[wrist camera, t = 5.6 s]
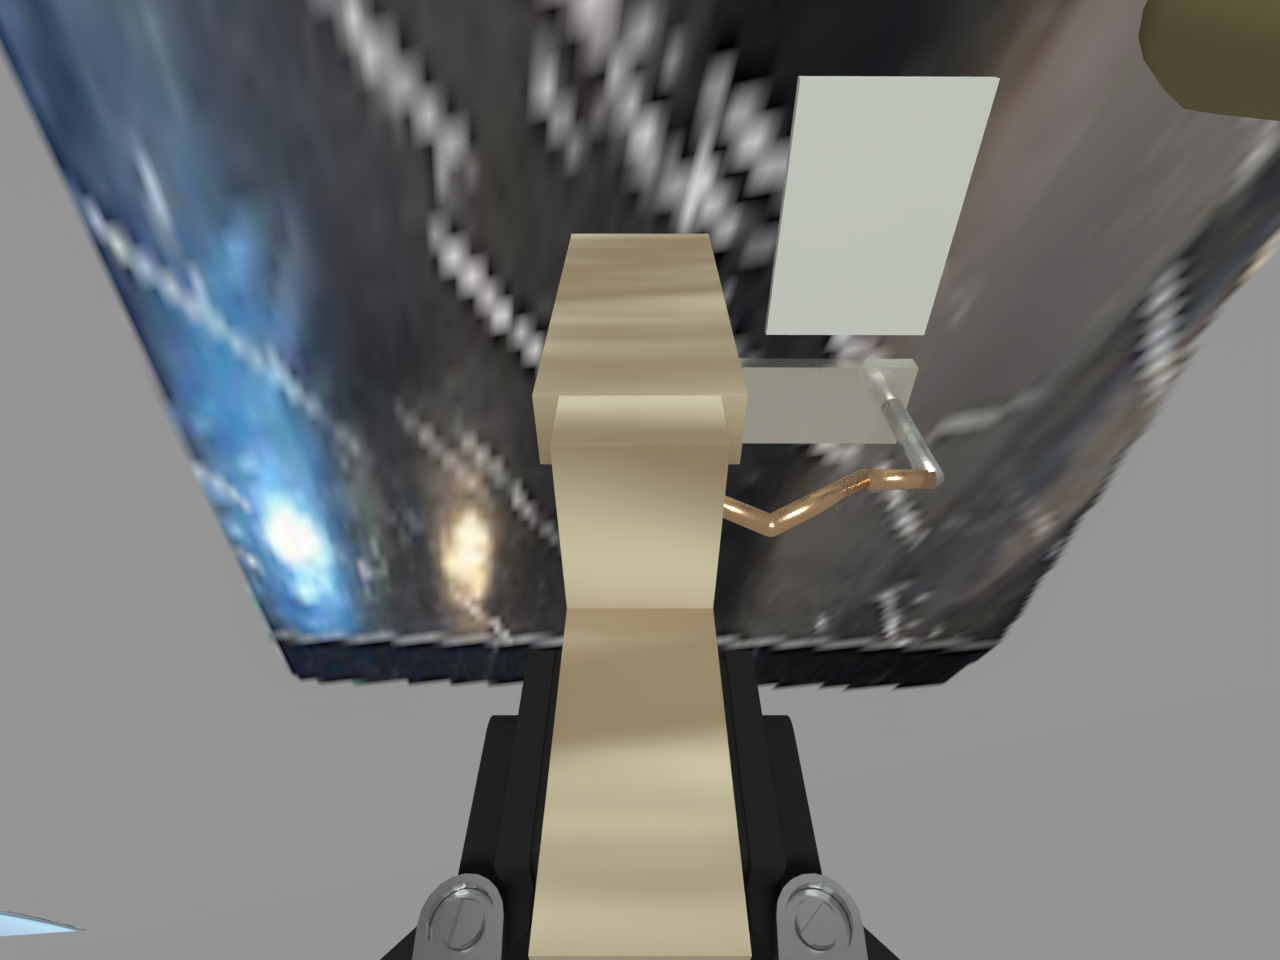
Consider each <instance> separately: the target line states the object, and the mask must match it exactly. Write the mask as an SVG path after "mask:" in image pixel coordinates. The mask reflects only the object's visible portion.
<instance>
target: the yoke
mask: <svg viewBox="0 0 1280 960" xmlns="http://www.w3.org/2000/svg"><path fill="white" fill-rule="evenodd" d="M532 398H533V407H534V415H535V424H536V432H537V440H538V449H539V457H540V464H552V471H553V480H554V490H555V499H556V509H557V518H558V528H559V537H560V547H561V556H562V566H563V575H564V585H565V594H566V604H567V613H566V622H565V631H564V640H563V649H562V657H561V666H560V675H559V684H558V693H557V702H556V711H555V720H554V729H553V738H552V747H551V756H550V765H549V774H548V783H547V792H546V801H545V810H544V819H543V828H542V837H541V846H540V855H539V864H538V873H537V882H536V891H535V900H534V909H533V918H532V927H531V936H530V945H529V953H528V957H529V960H751V957H752V953H751V944H750V935H749V926H748V917H747V908H746V899H745V890H744V881H743V873H742V864H741V855H740V846H739V837H738V828H737V819H736V810H735V801H734V792H733V783H732V774H731V765H730V756H729V747H728V738H727V729H726V720H725V711H724V702H723V693H722V684H721V675H720V666H719V657H718V648H717V639H716V630H715V621H714V612H713V605H714V595H715V586H716V576H717V567H718V557H719V548H720V538H721V529H722V519H723V510H724V500H725V491H726V481H727V472H728V464H740V458H741V450H742V442H743V433H744V425H745V417H746V408H747V400H748V394H747V389H746V385H745V381H744V377H743V373H742V369H741V365H740V361H739V357H738V353H737V348H736V344H735V340H734V336H733V332H732V328H731V324H730V320H729V316H728V311H727V307H726V303H725V299H724V295H723V291H722V287H721V283H720V279H719V274H718V270H717V266H716V262H715V258H714V254H713V250H712V246H711V242H710V237H709V234H571V238H570V242H569V246H568V251H567V255H566V259H565V263H564V267H563V271H562V275H561V279H560V283H559V287H558V292H557V296H556V300H555V304H554V308H553V312H552V316H551V320H550V324H549V329H548V333H547V337H546V341H545V345H544V349H543V353H542V357H541V361H540V366H539V370H538V374H537V378H536V382H535V386H534V390H533V394H532Z"/></svg>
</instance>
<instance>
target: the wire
mask: <svg viewBox="0 0 1280 960" xmlns="http://www.w3.org/2000/svg"><path fill="white" fill-rule="evenodd" d="M739 361H740V365H741V369H742V373H743V377H744V381H745V385H746V389H747V394H748V400H747V408H746V417H745V425H744V433H743V442H742V443H828V444H896V442H898V443H899V445H900V447H901V449H902V451H903V453H904V455H905V457H906V459H907V461H908V462H909V464H910V466H911V468H912V469H860V470H858V471H856V472H854V473H852V474H850V475H847V476H845V477H843V478H841V479H839V480H837V481H835V482H833V483H831V484H829V485H827V486H825V487H823V488H821V489H819V490H817V491H815V492H813V493H811V494H809V495H807V496H805V497H803V498H801V499H799V500H797V501H795V502H792V503H790V504H788V505H786V506H784V507H782V508H780V509H778V510H776V511H774V512H772V513H768V512H765V511H763V510H760V509H758V508H755V507H753V506H750V505H748V504H745V503H743V502H740V501H738V500H736V499H733V498H731V497H728V496H726V495H725V500H724V510H723V518H724V519H727V520H729V521H732V522H734V523H736V524H739V525H741V526H743V527H746V528H748V529H751V530H753V531H755V532H758V533H760V534H762V535H765V536H767V537H774V536H777V535H779V534H781V533H783V532H785V531H787V530H788V529H790V528H792V527H794V526H796V525H798V524H800V523H802V522H804V521H806V520H808V519H810V518H812V517H814V516H816V515H818V514H820V513H822V512H824V511H825V510H827V509H829V508H831V507H833V506H835V505H837V504H839V503H841V502H843V501H845V500H847V499H849V498H851V497H853V496H855V495H857V494H859V493H861V492H863V491H864V490H933V489H934V488H935V487H937V486H939V485H940V484H941V483H942V482H943V481H944V478H945V476H944V473H943V472H942V470H941V468H940V467H939V465H938V463H937V461H936V460H935V458H934V456H933V455H932V453H931V451H930V449H929V448H928V446H927V444H926V443H925V441H924V439H923V437H922V436H921V434H920V432H919V431H918V429H917V427H916V425H915V424H914V422H913V420H912V419H911V417H910V415H909V413H908V412H907V410H906V408H907V405H908V402H909V398H910V395H911V392H912V388H913V385H914V382H915V379H916V375H917V372H918V369H919V368H918V366H917V365H916V363H915V362H914V360H913V359H759V358H739Z"/></svg>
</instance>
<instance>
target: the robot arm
mask: <svg viewBox="0 0 1280 960" xmlns="http://www.w3.org/2000/svg"><path fill="white" fill-rule="evenodd" d="M560 666H561V658H557V652H556V651H529V653H528V656H527V662H526V668H525V674H524V680H523V687H522V693H521V699H520V705H519V712H518V715H492V716H491V718H490V720H489V723H488V726H487V730H486V735H485V740H484V745H483V750H482V755H481V761H480V766H479V771H478V776H477V781H476V786H475V791H474V796H473V801H472V806H471V811H470V816H469V821H468V826H467V831H466V837H465V842H464V847H463V852H462V857H461V862H460V867H459V872H458V875H457V876H454V877H451V878H450V879H448V880H446V881H445V882H443V883H442V884H440V885H439V886H438V887H437V888H436V889H435V890H434V891H433V892H432V893H431V894H430V895H429V897H428V899H427V901H426V902H425V904H424V906H423V907H422V909H421V913H420V916H419V919H418V923H417V926H416V927H415V928H414V929H413V930H412V931H411V932H410V933H409V934H408V935H406V936H405V937H404V938H403V939H402V940H401V941H400V942H399V943H398V944H397V945H396V946H395V947H393V948H392V949H391V950H390V951H389V952H388V953H387V954H386V955H385V956H383V957H382V958H381V959H380V960H529V957H528V953H529V945H530V936H531V927H532V918H533V909H534V900H535V891H536V882H537V873H538V864H539V855H540V846H541V837H542V828H543V819H544V810H545V801H546V792H547V783H548V774H549V765H550V756H551V747H552V738H553V729H554V720H555V711H556V702H557V693H558V684H559V675H560ZM719 666H720V675H721V684H722V693H723V702H724V711H725V720H726V729H727V738H728V747H729V756H730V765H731V774H732V783H733V792H734V801H735V810H736V819H737V828H738V837H739V846H740V855H741V864H742V873H743V881H744V890H745V899H746V908H747V917H748V926H749V935H750V944H751V953H752V957H751V960H900V959H899V958H898V957H897V956H896V955H895V954H894V953H892V952H891V951H890V950H889V949H888V948H887V947H886V946H885V945H884V944H882V943H881V942H880V941H879V940H878V939H877V938H876V937H875V936H874V935H873V934H872V933H870V932H869V931H868V930H867V929H866V928H865V927H864V926H863V923H862V919H861V916H860V912H859V909H858V907H857V906H856V904H855V902H854V900H853V899H852V897H851V895H850V894H849V893H848V892H847V891H846V890H845V889H844V888H843V887H842V886H841V885H840V884H839V883H837V882H835V881H834V880H832V879H830V878H829V877H826V876H823V875H822V871H821V866H820V861H819V856H818V851H817V845H816V840H815V835H814V830H813V825H812V820H811V815H810V810H809V805H808V800H807V795H806V789H805V784H804V779H803V774H802V769H801V764H800V759H799V754H798V749H797V744H796V739H795V734H794V729H793V725H792V722H791V719H790V717H789V716H788V715H762V710H761V703H760V697H759V691H758V685H757V678H756V672H755V666H754V660H753V655H752V652H751V651H724V653H723V658H719Z"/></svg>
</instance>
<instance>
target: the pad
mask: <svg viewBox="0 0 1280 960" xmlns="http://www.w3.org/2000/svg"><path fill="white" fill-rule="evenodd" d="M999 80H1000V78H997V77H905V76H798V82H797V89H796V97H795V105H794V112H793V120H792V127H791V135H790V143H789V150H788V158H787V166H786V173H785V181H784V188H783V196H782V204H781V211H780V219H779V226H778V234H777V242H776V249H775V257H774V265H773V272H772V280H771V287H770V295H769V303H768V310H767V318H766V325H765V333H766V335H924V334H925V330H926V327H927V323H928V320H929V317H930V313H931V310H932V307H933V303H934V300H935V296H936V293H937V290H938V286H939V283H940V280H941V276H942V273H943V269H944V266H945V263H946V259H947V256H948V252H949V249H950V246H951V242H952V239H953V236H954V232H955V229H956V225H957V222H958V219H959V215H960V212H961V209H962V205H963V202H964V198H965V195H966V192H967V188H968V185H969V182H970V178H971V175H972V171H973V168H974V165H975V161H976V158H977V155H978V151H979V148H980V144H981V141H982V138H983V134H984V131H985V128H986V124H987V121H988V117H989V114H990V111H991V107H992V104H993V101H994V97H995V94H996V90H997V87H998V84H999Z"/></svg>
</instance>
